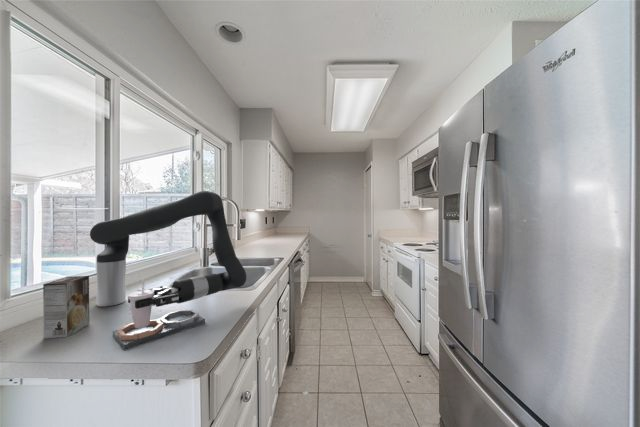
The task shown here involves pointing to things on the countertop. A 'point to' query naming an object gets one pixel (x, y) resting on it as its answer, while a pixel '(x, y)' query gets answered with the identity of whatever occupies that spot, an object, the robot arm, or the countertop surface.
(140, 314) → the smoothie
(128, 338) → the terracotta collar
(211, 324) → the countertop surface
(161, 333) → the dual ring board
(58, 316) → the coffee box
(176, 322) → the grey collar
